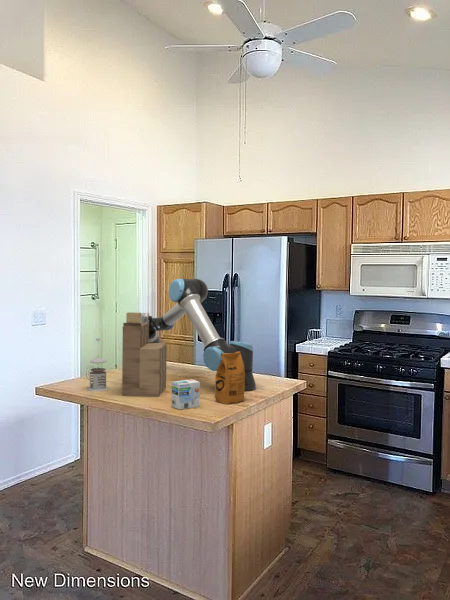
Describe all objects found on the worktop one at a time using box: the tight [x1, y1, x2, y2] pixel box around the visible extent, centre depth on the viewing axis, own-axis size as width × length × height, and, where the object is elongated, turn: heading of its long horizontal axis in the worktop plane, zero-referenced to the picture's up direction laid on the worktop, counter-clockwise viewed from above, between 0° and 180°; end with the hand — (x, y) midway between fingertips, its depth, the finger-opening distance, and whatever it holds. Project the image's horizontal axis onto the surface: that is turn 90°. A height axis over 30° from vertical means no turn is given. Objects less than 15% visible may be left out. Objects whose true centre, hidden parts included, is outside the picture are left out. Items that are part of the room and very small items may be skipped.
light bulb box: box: [171, 378, 201, 410], centre depth 221 cm, size 11×7×11 cm, turn 126°
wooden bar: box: [125, 311, 150, 324], centre depth 254 cm, size 28×6×6 cm, turn 177°
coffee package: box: [214, 351, 245, 405], centre depth 231 cm, size 10×12×22 cm
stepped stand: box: [121, 322, 168, 398], centre depth 247 cm, size 20×17×34 cm
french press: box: [85, 337, 109, 392], centre depth 250 cm, size 10×12×25 cm
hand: (141, 313), depth 258 cm, fingers open, 4 cm apart
